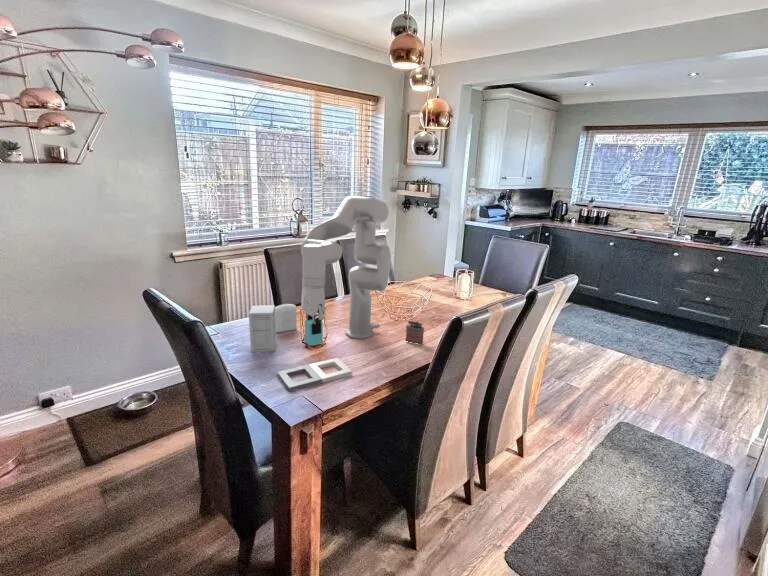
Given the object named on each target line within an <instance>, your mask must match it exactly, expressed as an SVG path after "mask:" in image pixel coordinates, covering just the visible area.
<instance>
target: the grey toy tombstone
mask: <svg viewBox="0 0 768 576" xmlns="http://www.w3.org/2000/svg"><path fill="white" fill-rule="evenodd" d="M275 321H276V333H282V332H289V331H295V330H297V306H296V305H295V304H293V303H283V304H279V305H277V306H275Z"/></svg>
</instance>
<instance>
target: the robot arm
mask: <svg viewBox="0 0 768 576" xmlns="http://www.w3.org/2000/svg"><path fill="white" fill-rule="evenodd" d="M389 213H390V212H389V206H388V205H387V203H386V202H384V201H382V200H380V199H377V198H374V197H369V196H357V195H349V196H346V197H345V198H344V199H343V200H342V201H341V204H340V205H339V206H338V208H337V210H336V211H335V213H334V214H333V216H332V217H331V218H329V219H327V220H325V221H323V222H321V223H319V224H317V225H316V226H314V227H313V228H312V229H311V230H309V231H308V233H307V234H306V236H305V238H304V239H303V241H302V243H301V246H300V254H301V257H302V265H301V267H302V268H301V269H302V270H301V271H302V272H301V273H302V276H301V277H302V280H301V281H302V283H301V284H302V289H301V296H300V297H301V300H300V301H301V302H300V304H301V305H300V306H301V307H300V308H301V310H302V311H303V312H305V320H310V319H313V323H312V334H313V335H314V334H320V333H321V323H322V322H323V321H324V320H325V316H324V315H325V313H326V293H325V286H326V265H329V264H330V265H331V264H336V263H337V262H339V261H340V259H341V258H342V257H343V256H342V255H343V247H342V246H341V244H339V243H338V242H336V241H332V239H336V238H340V237H344V236H348V235H349V234H350V233H351V232H352V230H353V229H355V237H354V238H355V239H354V248H353V250H354V251H353V257H354V260H355V261H356V262H357V263H360V264H364V265H372V266H376V268H375V267H369V266H362V265H356V266H353V267H352V268H350V270H349V271H348V279H347V280H348V286H349V297H350V298H349V319H348V320H349V325H348V326H349V327H348V328H346V330H345V335H346V336H347V337H348V338H350V339H356V340H364V339H369V338H372V336H373V335H374V329H378V328H380V324H379V323H374V322H371V316H372V314H371V313H372V295H371V293H370V290H371V291H376V292H377V291H378V292H382V291H385V290H386V288H387V287H388V285H389V284H388V282H389V277H390V276H389V275H390V265H391V249H390V247H389V245H387V244H385V243H380V242H376V227H375V226H374V224H373V223H380V224H382V223H384V222H385V221H387V219H388V218H389ZM354 226H355V227H354ZM330 239H331V240H330Z"/></svg>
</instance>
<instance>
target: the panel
mask: <svg viewBox="0 0 768 576" xmlns="http://www.w3.org/2000/svg"><path fill="white" fill-rule="evenodd" d="M331 366H334V367H336V368H337V369H338V371H334V372H330V373H327V374H326V372H324V370H322V369H323V368H327V367H331ZM302 373H305V374H306V376H308V378H307V379H303V380H300V381H296V382H294V381H293V380H292V378H291V377H290V376H295V375H300V374H302ZM351 374H352V375H353V370H352V369H350V368H349V366H347V365H346V364H345V363H344V362H343V361H342V360H341V359H340V358H338V357H335V358H334V357H333V358H329V359H326V360H321V361H317V362H312V363H309V364H305V365H301V366H297V367H293V368H287V369H284V370H279V371H277V372H276V376H277V377H278V379H279V380H280V381H281V382H282V384H283V385H284V387H285V386H286V387H285V388H286V389H287V390H288V391H290V392H293V390H294V391H296V390H300V389H304V388H307V387H312V386H315V385H319V384H323V383H327V382H331V381H335V380H337V379H341V377H342V378H345V377H349V376H352V375H351ZM348 375H349V376H348ZM330 380H331V381H330Z"/></svg>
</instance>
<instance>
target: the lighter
mask: <svg viewBox="0 0 768 576" xmlns="http://www.w3.org/2000/svg"><path fill="white" fill-rule="evenodd" d="M407 323H408V324H406V326H405V327H406V332H405V340H404V341H408V342H412V343H418V344H422V343H423V344H424V332H425V327H424V326H423V323H422V322H419V321H418V320H415V321H414V320H411V319H410V320H408V322H407Z"/></svg>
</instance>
